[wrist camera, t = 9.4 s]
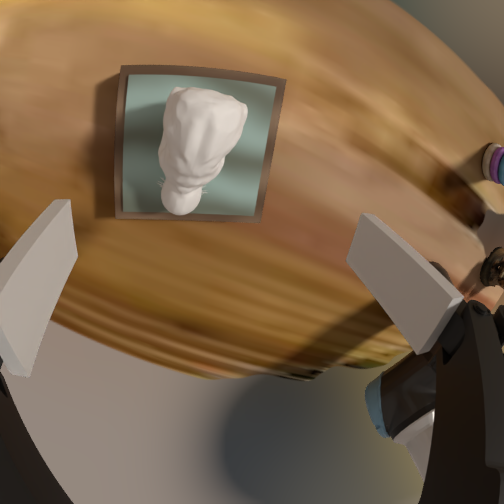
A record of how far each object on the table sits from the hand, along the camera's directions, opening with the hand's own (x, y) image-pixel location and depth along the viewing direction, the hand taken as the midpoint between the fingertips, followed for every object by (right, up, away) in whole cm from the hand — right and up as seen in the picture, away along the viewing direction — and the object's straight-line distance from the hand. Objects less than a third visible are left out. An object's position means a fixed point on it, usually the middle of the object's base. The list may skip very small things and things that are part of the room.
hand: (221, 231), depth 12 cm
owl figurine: (+67, -5, +47) cm, 82 cm away
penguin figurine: (-5, +9, +14) cm, 18 cm away
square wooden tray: (-5, +11, +18) cm, 22 cm away
